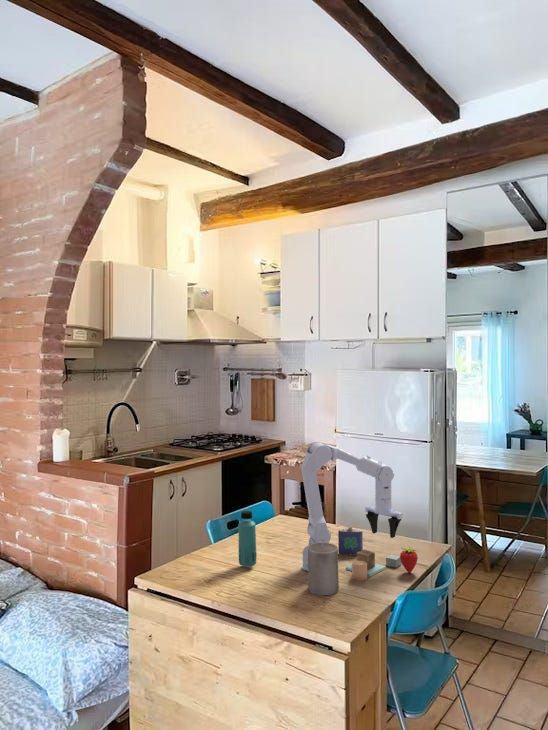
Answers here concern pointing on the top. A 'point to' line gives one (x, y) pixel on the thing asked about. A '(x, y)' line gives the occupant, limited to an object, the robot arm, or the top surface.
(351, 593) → the top surface
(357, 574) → the peach domed cylinder
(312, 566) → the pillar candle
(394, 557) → the grey square block
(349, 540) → the flask
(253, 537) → the beverage bottle
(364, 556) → the walnut block
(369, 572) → the coaster
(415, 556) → the strawberry
